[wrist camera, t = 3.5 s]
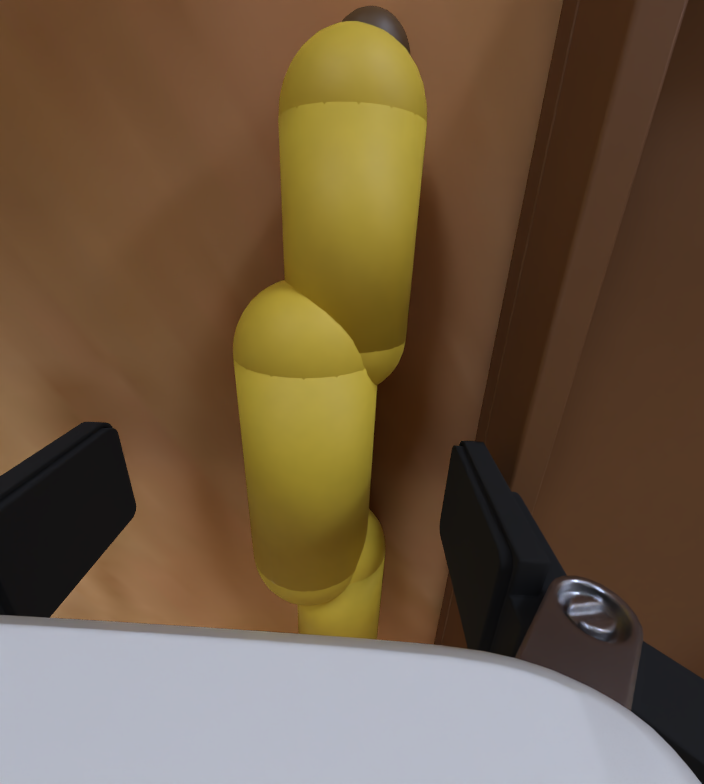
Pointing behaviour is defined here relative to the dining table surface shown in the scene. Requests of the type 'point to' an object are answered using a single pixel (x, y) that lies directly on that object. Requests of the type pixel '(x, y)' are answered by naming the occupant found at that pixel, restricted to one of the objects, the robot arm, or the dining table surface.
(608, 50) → the tray
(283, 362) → the banana
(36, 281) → the dining table surface
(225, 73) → the dining table surface
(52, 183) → the dining table surface
